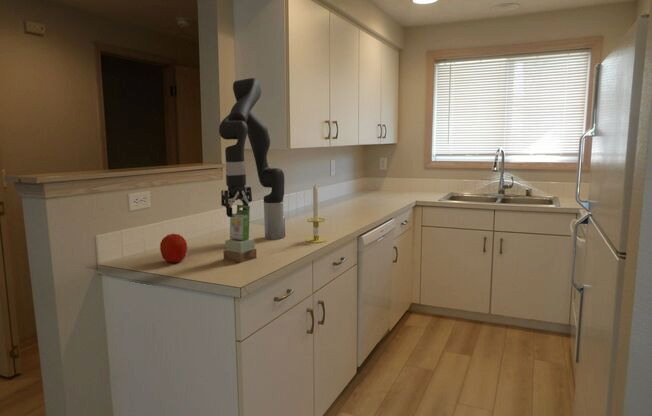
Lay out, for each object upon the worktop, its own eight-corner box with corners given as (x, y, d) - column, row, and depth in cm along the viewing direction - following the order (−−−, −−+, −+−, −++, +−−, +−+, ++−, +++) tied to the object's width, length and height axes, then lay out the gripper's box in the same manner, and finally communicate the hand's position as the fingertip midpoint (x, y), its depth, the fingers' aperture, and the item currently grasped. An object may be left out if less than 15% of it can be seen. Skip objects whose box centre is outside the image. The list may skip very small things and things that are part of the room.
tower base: (240, 255, 189) (239, 246, 188) (256, 258, 184) (256, 248, 183) (223, 260, 181) (223, 250, 181) (240, 263, 176) (240, 253, 176)
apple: (156, 261, 180) (154, 232, 178) (180, 257, 187) (178, 229, 185) (168, 266, 173) (166, 236, 171) (192, 261, 180) (191, 232, 178)
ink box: (229, 238, 182) (230, 204, 181) (236, 237, 185) (237, 204, 184) (242, 240, 178) (243, 206, 177) (249, 239, 181) (250, 205, 180)
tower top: (239, 246, 188) (239, 236, 187) (254, 248, 184) (254, 238, 183) (225, 250, 181) (225, 240, 180) (241, 252, 177) (240, 242, 176)
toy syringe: (312, 237, 220) (311, 181, 216) (331, 239, 215) (330, 182, 211) (301, 241, 212) (300, 183, 208) (319, 243, 207) (318, 184, 203)
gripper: (241, 171, 185) (243, 211, 187) (214, 174, 173) (217, 217, 176) (255, 172, 181) (257, 213, 183) (229, 175, 169) (231, 218, 172)
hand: (237, 215), depth 180 cm, fingers open, 8 cm apart
